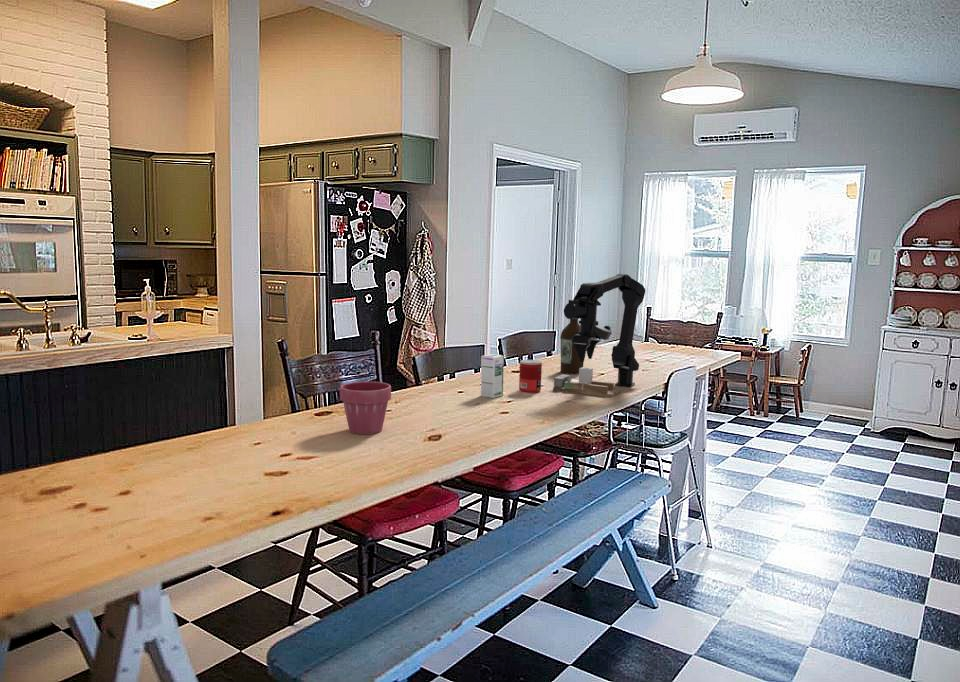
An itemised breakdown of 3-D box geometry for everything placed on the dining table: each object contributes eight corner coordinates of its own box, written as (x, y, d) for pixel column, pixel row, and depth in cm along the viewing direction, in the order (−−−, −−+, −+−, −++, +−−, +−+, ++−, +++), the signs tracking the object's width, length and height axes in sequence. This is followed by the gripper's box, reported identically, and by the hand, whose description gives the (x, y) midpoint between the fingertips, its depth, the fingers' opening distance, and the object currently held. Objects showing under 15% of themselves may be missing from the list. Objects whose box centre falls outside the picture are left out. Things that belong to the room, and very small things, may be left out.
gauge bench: (562, 385, 274) (563, 374, 273) (619, 392, 265) (620, 380, 264) (552, 390, 264) (553, 378, 264) (611, 397, 255) (611, 385, 254)
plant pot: (335, 425, 204) (335, 381, 203) (383, 422, 210) (384, 379, 208) (345, 438, 191) (345, 391, 190) (396, 435, 196) (397, 389, 195)
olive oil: (572, 369, 312) (574, 312, 308) (589, 373, 303) (592, 314, 300) (553, 371, 305) (556, 312, 302) (570, 375, 297) (573, 315, 294)
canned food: (541, 393, 258) (542, 363, 257) (519, 392, 259) (520, 362, 257) (540, 389, 266) (541, 359, 265) (518, 388, 266) (519, 359, 265)
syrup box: (493, 398, 247) (494, 357, 246) (479, 395, 251) (481, 355, 249) (503, 396, 252) (504, 355, 250) (489, 393, 255) (490, 353, 254)
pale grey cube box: (570, 384, 270) (571, 365, 269) (592, 387, 266) (593, 368, 265) (564, 387, 263) (564, 368, 262) (586, 390, 259) (587, 370, 258)
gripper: (602, 321, 249) (600, 366, 251) (616, 317, 266) (614, 359, 268) (572, 319, 254) (569, 362, 256) (588, 315, 271) (585, 356, 273)
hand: (586, 360), depth 263 cm, fingers open, 9 cm apart
